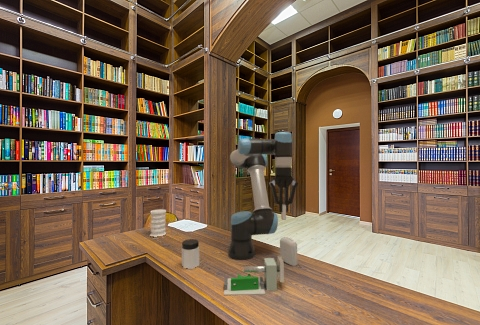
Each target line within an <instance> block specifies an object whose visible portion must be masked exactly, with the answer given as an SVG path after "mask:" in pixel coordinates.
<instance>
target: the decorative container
mask: <svg viewBox="0 0 480 325" xmlns="http://www.w3.org/2000/svg"><path fill="white" fill-rule="evenodd" d="M166 213H167V209H160V208H159V209H153V210H150V219H151V220H150V234H149V237H150V236H154V237H157V236H163V235H165V234H166V233H167V232H166V230H167V229H166V224H167V223H166V216H167V215H166Z"/></svg>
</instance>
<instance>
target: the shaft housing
mask: <svg viewBox="0 0 480 325" xmlns="http://www.w3.org/2000/svg"><path fill="white" fill-rule="evenodd" d="M263 260H264V261H263V262H264V263H263V264H264V265H263V266H266V272H263V275H264V278H263V281H264V286H265V289H266V292H273V291H274V292H275V291H277V292H278V275H277V262H276V260H275V258H274V257H264V258H263Z"/></svg>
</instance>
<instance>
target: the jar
mask: <svg viewBox="0 0 480 325" xmlns="http://www.w3.org/2000/svg"><path fill="white" fill-rule="evenodd" d="M199 243H200V241H199V240H198V239H194V238H190V239H185V240H183V241H182V242H181V267H182V266H183V267H182V268H183V269H184V268H188V269H187V270H194V269H196V268H197V266H198V267H199V266H200V245H199ZM195 267H196V268H195ZM193 268H194V269H193Z"/></svg>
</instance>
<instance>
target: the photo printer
mask: <svg viewBox="0 0 480 325" xmlns="http://www.w3.org/2000/svg"><path fill="white" fill-rule="evenodd" d="M279 256H281V258H282V260H283V262H285V263H286V264H288V265H290V266H292V267H296V266H297V265H298V264H299V263H298V243H297V242H296V241H295V240H294V239H292V238H291V237H288V236H284V237H280V239H279Z"/></svg>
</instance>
